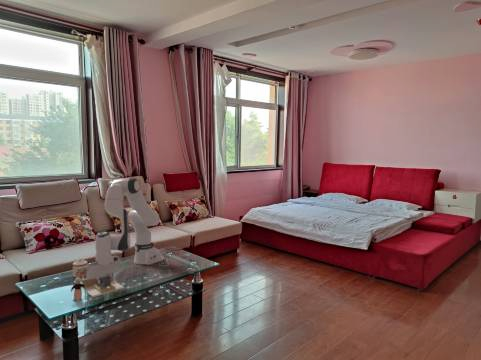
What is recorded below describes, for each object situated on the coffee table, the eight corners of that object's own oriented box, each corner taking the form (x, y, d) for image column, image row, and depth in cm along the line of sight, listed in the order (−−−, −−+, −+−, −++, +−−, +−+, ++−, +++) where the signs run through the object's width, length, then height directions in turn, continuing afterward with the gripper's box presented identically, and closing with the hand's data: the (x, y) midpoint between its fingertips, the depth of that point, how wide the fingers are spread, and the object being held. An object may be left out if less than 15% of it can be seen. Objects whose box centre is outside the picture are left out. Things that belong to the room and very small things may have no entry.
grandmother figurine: (71, 302, 188) (71, 280, 187) (70, 300, 191) (69, 277, 190) (86, 299, 193) (86, 277, 191) (85, 296, 196) (84, 275, 195)
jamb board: (103, 275, 229) (103, 266, 228) (124, 288, 208) (124, 279, 207) (73, 282, 215) (73, 273, 215) (92, 297, 195) (92, 287, 194)
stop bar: (110, 285, 205) (110, 277, 204) (104, 287, 202) (104, 279, 201) (103, 282, 210) (103, 274, 209) (97, 283, 207) (97, 275, 206)
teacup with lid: (75, 279, 220) (75, 262, 219) (70, 275, 226) (70, 258, 225) (94, 275, 228) (94, 258, 227) (89, 271, 235) (89, 255, 234)
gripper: (89, 265, 194) (90, 288, 196) (121, 256, 210) (122, 278, 212) (83, 262, 198) (84, 286, 199) (115, 254, 214) (116, 276, 215)
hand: (103, 282), depth 206 cm, fingers closed on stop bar, 4 cm apart
